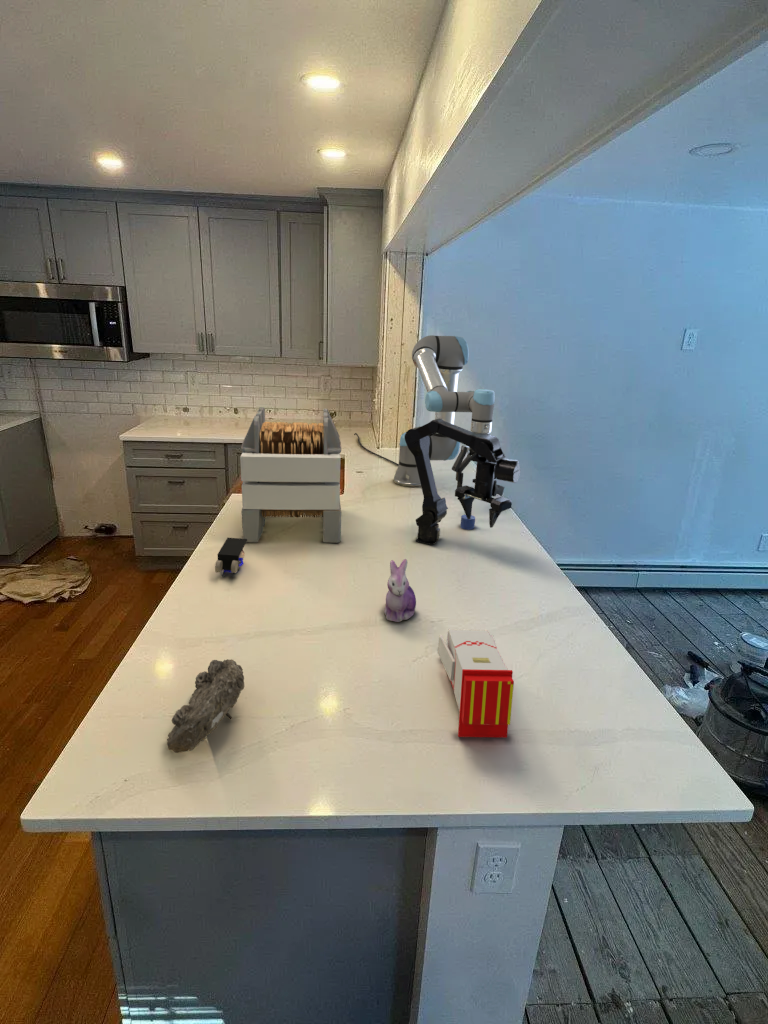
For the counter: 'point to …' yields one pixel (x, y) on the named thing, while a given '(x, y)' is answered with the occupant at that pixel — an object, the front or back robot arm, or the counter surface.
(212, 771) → the counter surface
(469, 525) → the cylinder
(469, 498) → the front robot arm
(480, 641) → the toy
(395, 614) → the figurine
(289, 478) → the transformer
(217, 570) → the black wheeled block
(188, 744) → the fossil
